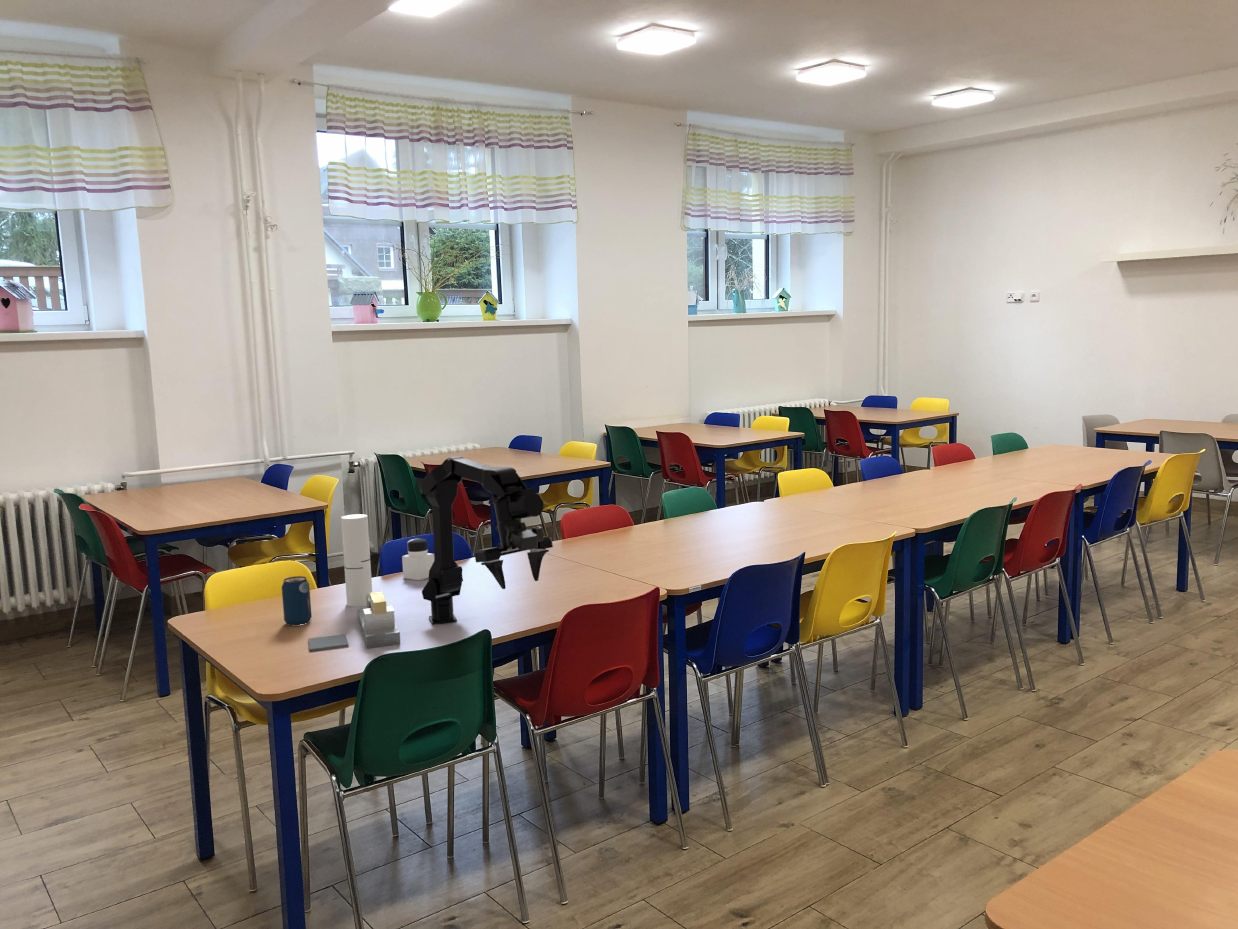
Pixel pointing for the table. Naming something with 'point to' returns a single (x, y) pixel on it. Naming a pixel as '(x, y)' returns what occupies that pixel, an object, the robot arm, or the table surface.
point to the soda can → (296, 600)
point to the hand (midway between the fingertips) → (520, 584)
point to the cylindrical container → (356, 558)
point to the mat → (328, 642)
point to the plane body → (377, 631)
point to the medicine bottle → (417, 560)
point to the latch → (378, 603)
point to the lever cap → (378, 619)
